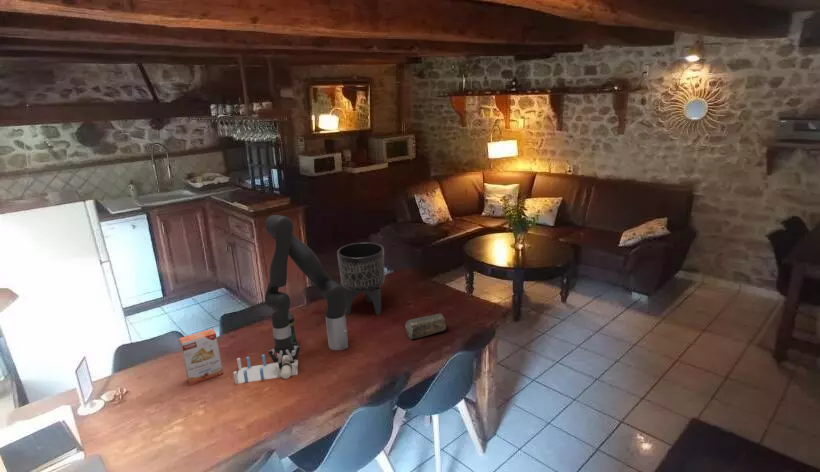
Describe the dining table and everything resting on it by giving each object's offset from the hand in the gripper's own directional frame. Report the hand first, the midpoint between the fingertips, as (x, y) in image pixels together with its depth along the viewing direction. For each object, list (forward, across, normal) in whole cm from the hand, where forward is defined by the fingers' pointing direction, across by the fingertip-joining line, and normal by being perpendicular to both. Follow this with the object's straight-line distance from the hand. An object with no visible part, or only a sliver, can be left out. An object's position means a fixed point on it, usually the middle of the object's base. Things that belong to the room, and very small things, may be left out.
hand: (287, 368), depth 215 cm
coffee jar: (+1, 0, -18) cm, 18 cm away
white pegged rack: (+1, +8, 0) cm, 8 cm away
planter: (+1, -41, -50) cm, 64 cm away
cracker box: (+1, +35, -4) cm, 36 cm away
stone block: (+2, -68, -16) cm, 70 cm away
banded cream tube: (0, 0, 0) cm, 0 cm away
